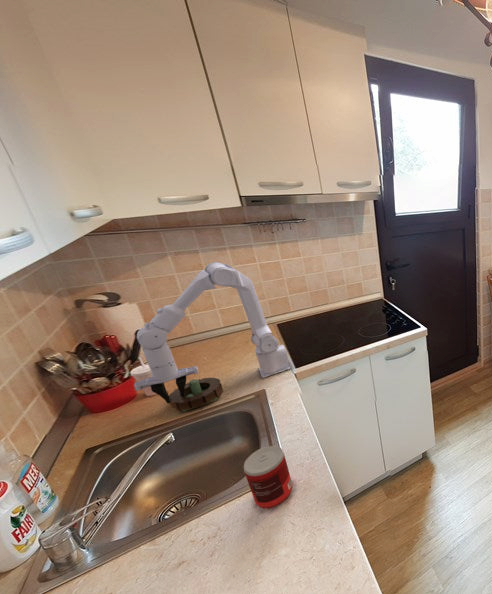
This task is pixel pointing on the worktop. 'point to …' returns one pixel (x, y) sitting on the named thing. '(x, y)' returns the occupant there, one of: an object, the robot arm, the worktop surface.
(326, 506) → the worktop surface
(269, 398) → the worktop surface
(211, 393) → the walnut ring
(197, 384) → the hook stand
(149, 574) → the worktop surface
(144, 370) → the smoothie
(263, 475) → the canned food
